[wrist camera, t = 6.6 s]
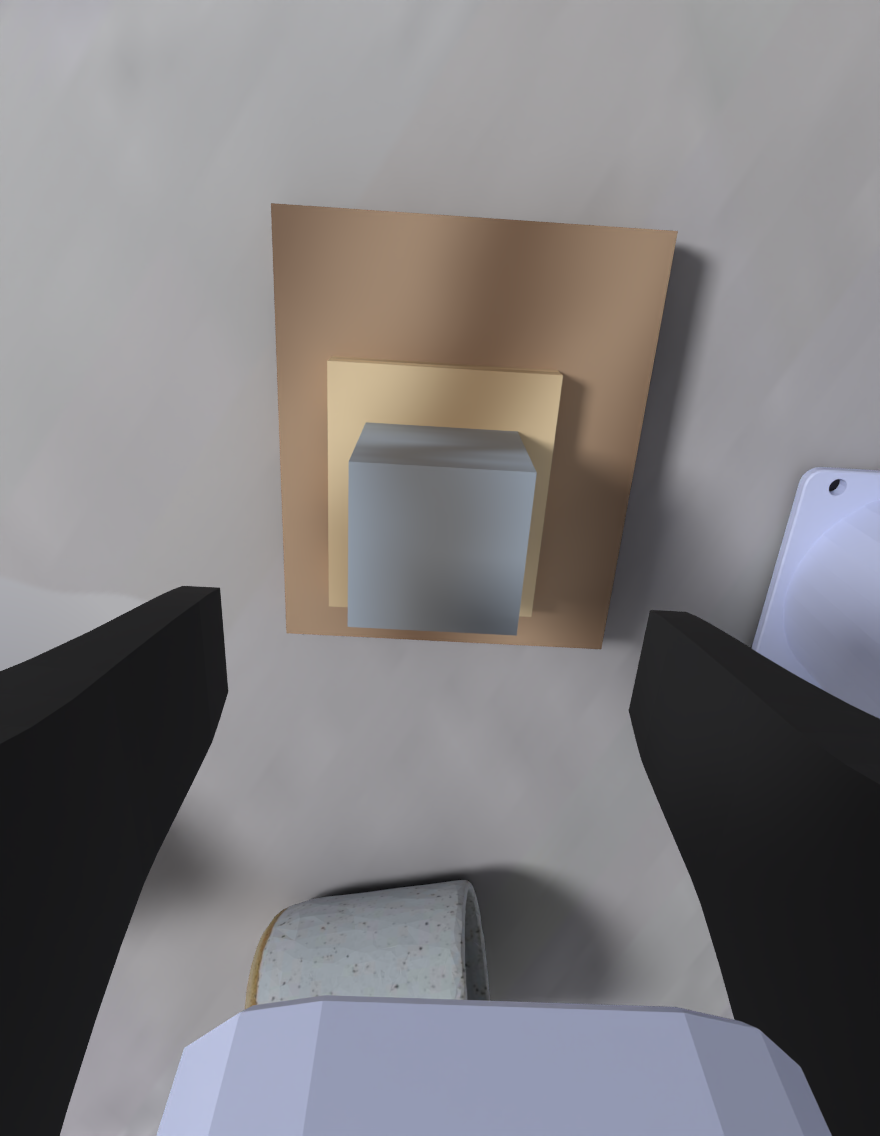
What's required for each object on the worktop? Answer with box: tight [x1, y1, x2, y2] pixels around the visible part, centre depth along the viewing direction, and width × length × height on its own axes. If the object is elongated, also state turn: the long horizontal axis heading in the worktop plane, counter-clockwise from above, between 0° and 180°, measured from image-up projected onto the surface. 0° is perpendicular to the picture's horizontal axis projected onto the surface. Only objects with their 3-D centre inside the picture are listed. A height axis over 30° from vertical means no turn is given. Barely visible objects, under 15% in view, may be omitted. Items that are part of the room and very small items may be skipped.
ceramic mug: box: [245, 880, 490, 1009], centre depth 26 cm, size 11×8×8 cm
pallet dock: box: [271, 203, 678, 649], centre depth 20 cm, size 10×12×2 cm
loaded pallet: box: [327, 356, 563, 636], centre depth 17 cm, size 6×7×5 cm
